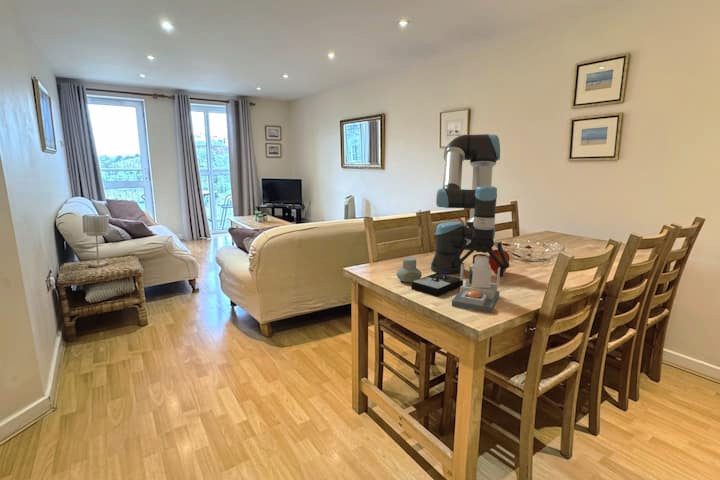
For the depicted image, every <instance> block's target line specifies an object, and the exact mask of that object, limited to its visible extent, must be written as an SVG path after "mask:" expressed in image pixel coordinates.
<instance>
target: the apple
mask: <svg viewBox="0 0 720 480" xmlns="http://www.w3.org/2000/svg"><path fill="white" fill-rule="evenodd" d="M493 251H494V253H495V254H496V255H497V257H498V258H499V259H500V261H501V262H502V263H503V264H504V262H503V260H502V258H501V255H500V253H499V251H498V248H496V249H493ZM503 251H504V253H505V255H506V258H507V260H508V262H509V263H510V259H511V257H510V253H508V252H507V250H504V249H503ZM488 256H489V257H490V260H489V267H490V269H491V270H492V272H494V273H495V274H497V273H498V268H499V266H498V265H497V263H496V262H495V261H494V259H493V258H492V257H491V255H490V254H488ZM507 269H508V268H504V272H506V271H507Z"/></svg>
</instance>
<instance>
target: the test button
mask: <svg viewBox="0 0 720 480" xmlns="http://www.w3.org/2000/svg"><path fill="white" fill-rule="evenodd" d="M467 297H471V298H477V299H481V292H479V291H475V290H469V291H467Z"/></svg>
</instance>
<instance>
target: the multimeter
mask: <svg viewBox="0 0 720 480" xmlns="http://www.w3.org/2000/svg"><path fill="white" fill-rule="evenodd" d="M410 284H411V285H410V286H411V290H413V291H417V292H419V293H423V294H427V295H430V296H432V297H437V298H438V297H441V296H444V295H445V294H446V295H447V293H451V292H452V291H455V290H457V289H460V287H461V286H464V279H463V280H460V277H457V276H452V275H450V274H444V273H438V272H434V273H433V274H430V275H427V276H424V277H422V278H420V279H418V280H415V281H413V282H412V283H410Z"/></svg>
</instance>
